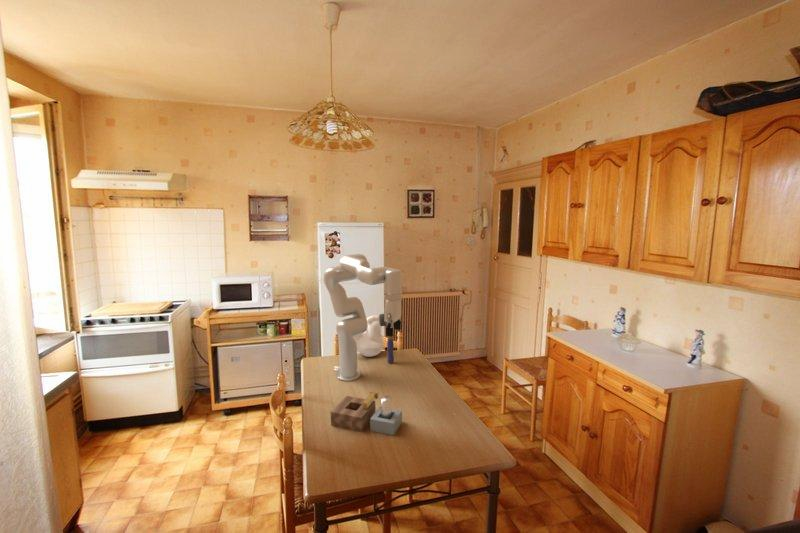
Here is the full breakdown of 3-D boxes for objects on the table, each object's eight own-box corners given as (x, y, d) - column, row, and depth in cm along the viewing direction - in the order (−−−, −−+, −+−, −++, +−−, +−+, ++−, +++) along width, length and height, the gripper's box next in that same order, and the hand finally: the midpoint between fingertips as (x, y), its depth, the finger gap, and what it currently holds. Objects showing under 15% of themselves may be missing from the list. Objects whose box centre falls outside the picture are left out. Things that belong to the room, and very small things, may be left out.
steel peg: (380, 427, 149) (379, 400, 147) (383, 422, 153) (383, 395, 151) (389, 429, 148) (388, 401, 146) (392, 424, 151) (392, 397, 150)
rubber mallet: (399, 359, 219) (399, 310, 215) (402, 364, 212) (401, 314, 208) (379, 361, 217) (378, 312, 213) (380, 366, 210) (380, 315, 205)
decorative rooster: (379, 348, 238) (379, 311, 235) (387, 356, 223) (386, 317, 220) (341, 352, 230) (340, 314, 226) (346, 362, 215) (345, 321, 212)
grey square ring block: (370, 430, 147) (370, 418, 146) (380, 417, 156) (379, 406, 156) (393, 435, 144) (393, 423, 143) (401, 421, 153) (401, 410, 152)
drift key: (360, 407, 153) (360, 402, 152) (371, 396, 162) (371, 390, 162) (368, 409, 151) (368, 403, 151) (378, 397, 161) (378, 392, 161)
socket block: (331, 425, 151) (330, 411, 150) (347, 408, 164) (346, 395, 163) (361, 431, 146) (361, 417, 145) (375, 413, 159) (375, 401, 158)
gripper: (393, 291, 174) (392, 326, 177) (378, 300, 158) (378, 337, 161) (407, 293, 172) (407, 328, 174) (394, 301, 156) (394, 339, 158)
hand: (393, 332), depth 167 cm, fingers open, 9 cm apart
